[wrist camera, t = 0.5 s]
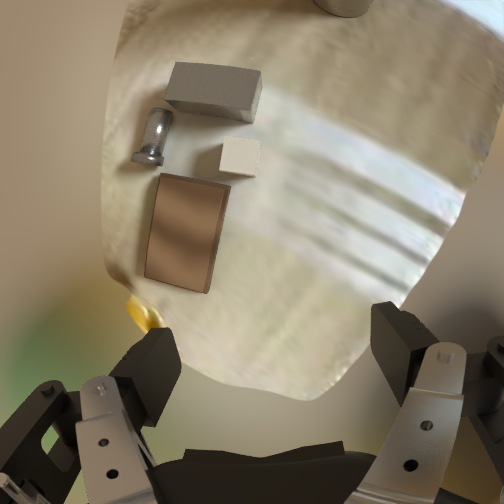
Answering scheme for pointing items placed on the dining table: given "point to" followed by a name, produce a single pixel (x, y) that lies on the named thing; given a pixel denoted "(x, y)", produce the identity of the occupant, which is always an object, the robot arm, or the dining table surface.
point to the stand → (185, 231)
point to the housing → (215, 90)
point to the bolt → (154, 138)
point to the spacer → (240, 156)
